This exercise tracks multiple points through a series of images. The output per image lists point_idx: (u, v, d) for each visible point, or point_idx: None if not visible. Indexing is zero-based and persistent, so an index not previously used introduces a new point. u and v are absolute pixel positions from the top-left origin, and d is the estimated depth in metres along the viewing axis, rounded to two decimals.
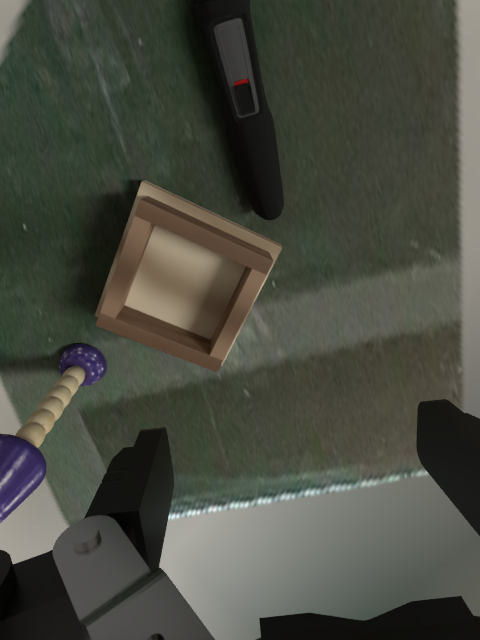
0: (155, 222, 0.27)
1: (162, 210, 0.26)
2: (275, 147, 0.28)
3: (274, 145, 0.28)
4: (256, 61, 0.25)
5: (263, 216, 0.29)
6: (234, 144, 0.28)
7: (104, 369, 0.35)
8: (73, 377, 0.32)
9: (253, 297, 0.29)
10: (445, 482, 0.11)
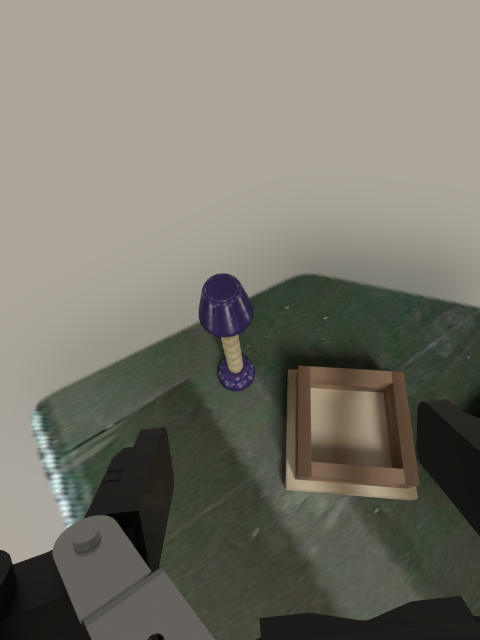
0: (394, 385, 0.37)
1: (405, 387, 0.37)
2: None
3: None
4: None
5: None
6: None
7: (239, 388, 0.41)
8: (240, 362, 0.40)
9: (381, 480, 0.33)
10: (445, 482, 0.11)
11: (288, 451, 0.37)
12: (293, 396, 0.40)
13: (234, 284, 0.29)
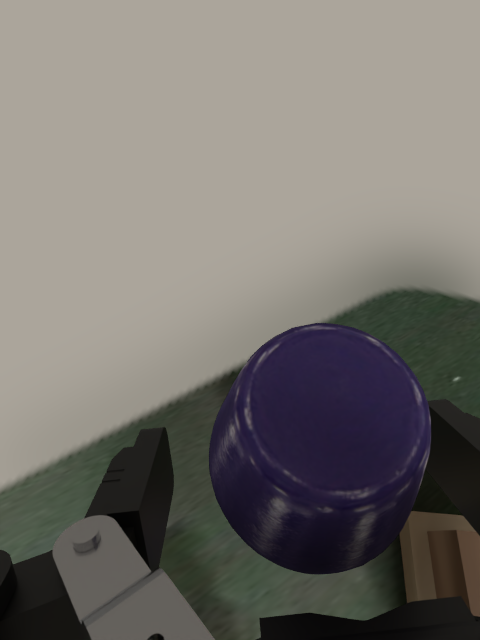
0: None
1: None
2: None
3: None
4: None
5: None
6: None
7: None
8: None
9: None
10: (445, 482, 0.11)
11: None
12: (430, 589, 0.17)
13: (400, 387, 0.06)
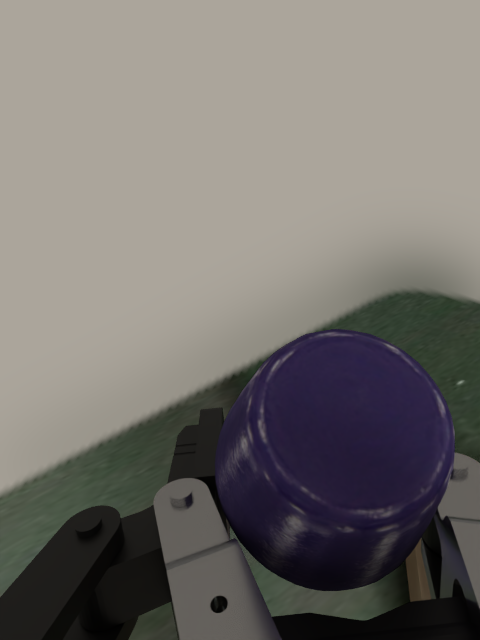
0: None
1: None
2: None
3: None
4: None
5: None
6: None
7: None
8: None
9: None
10: None
11: None
12: None
13: (422, 398, 0.05)
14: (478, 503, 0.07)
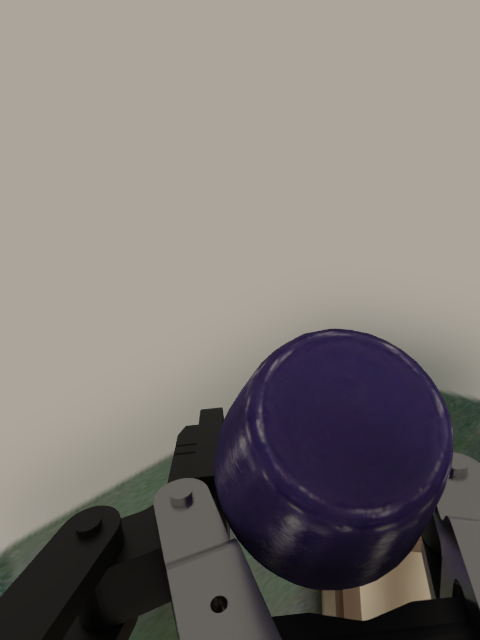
0: None
1: None
2: None
3: None
4: None
5: None
6: None
7: None
8: None
9: None
10: None
11: None
12: None
13: (420, 398, 0.05)
14: (477, 502, 0.07)
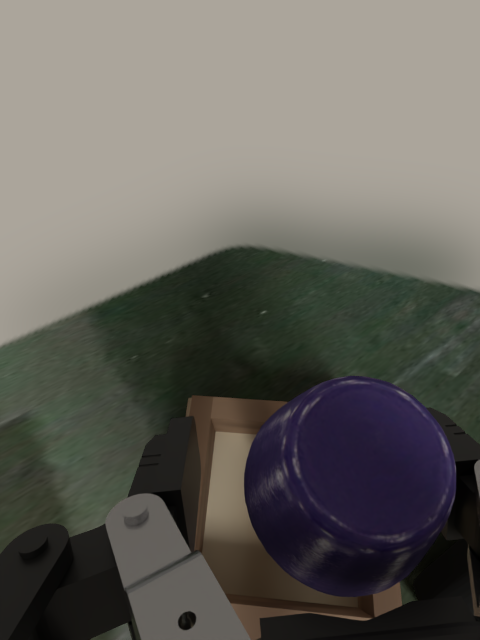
0: None
1: None
2: None
3: None
4: None
5: (423, 598, 0.18)
6: None
7: None
8: None
9: None
10: None
11: None
12: None
13: (429, 440, 0.06)
14: None
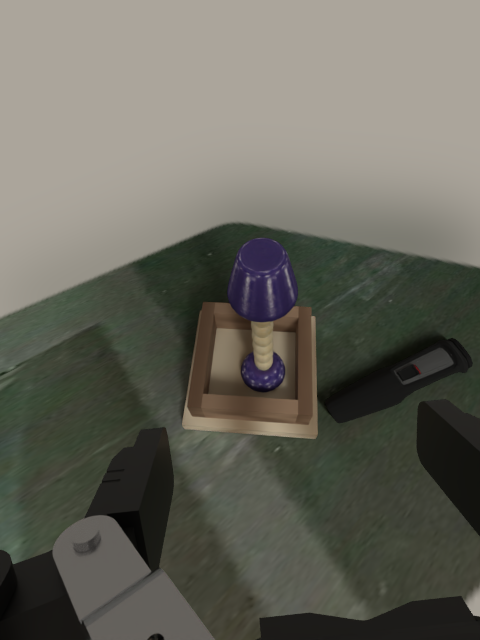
0: (300, 320, 0.35)
1: (310, 322, 0.35)
2: (381, 406, 0.34)
3: (382, 404, 0.34)
4: (433, 378, 0.35)
5: (327, 402, 0.34)
6: (372, 374, 0.36)
7: (267, 388, 0.34)
8: (271, 357, 0.33)
9: (273, 411, 0.31)
10: (445, 482, 0.11)
11: (189, 389, 0.35)
12: None
13: (279, 251, 0.22)
14: None
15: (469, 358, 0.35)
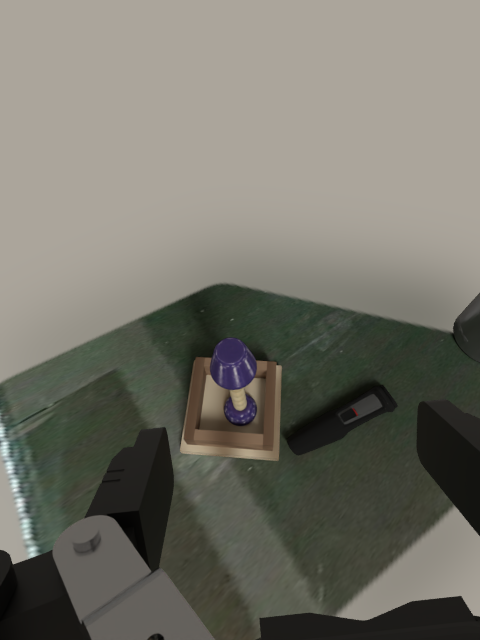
0: (267, 372, 0.47)
1: (275, 374, 0.47)
2: (329, 441, 0.46)
3: (330, 440, 0.46)
4: (367, 418, 0.47)
5: (288, 440, 0.45)
6: (323, 416, 0.48)
7: (243, 423, 0.47)
8: (244, 402, 0.45)
9: (245, 442, 0.43)
10: (445, 482, 0.11)
11: (185, 423, 0.48)
12: None
13: (241, 348, 0.34)
14: None
15: (394, 401, 0.47)
